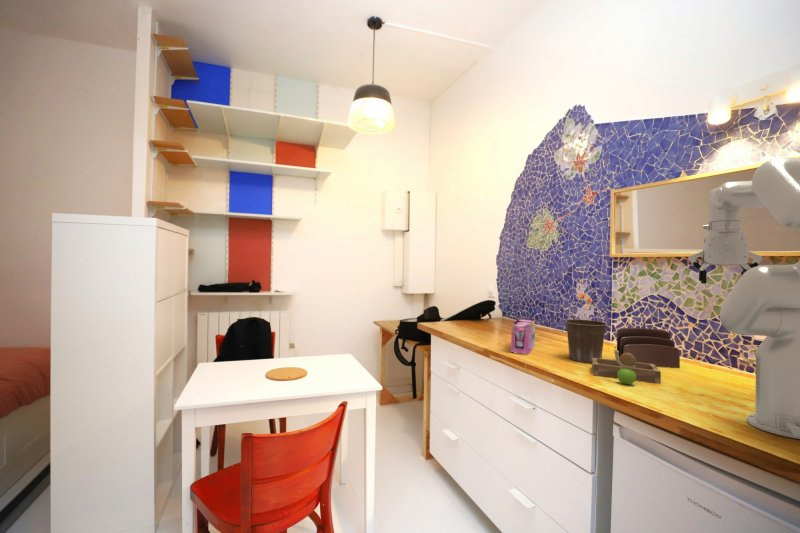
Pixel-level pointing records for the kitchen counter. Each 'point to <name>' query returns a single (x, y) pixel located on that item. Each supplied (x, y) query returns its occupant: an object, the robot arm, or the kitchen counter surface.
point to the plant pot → (585, 339)
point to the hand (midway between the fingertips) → (723, 284)
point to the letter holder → (649, 346)
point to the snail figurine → (626, 367)
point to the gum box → (523, 336)
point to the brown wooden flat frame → (611, 367)
